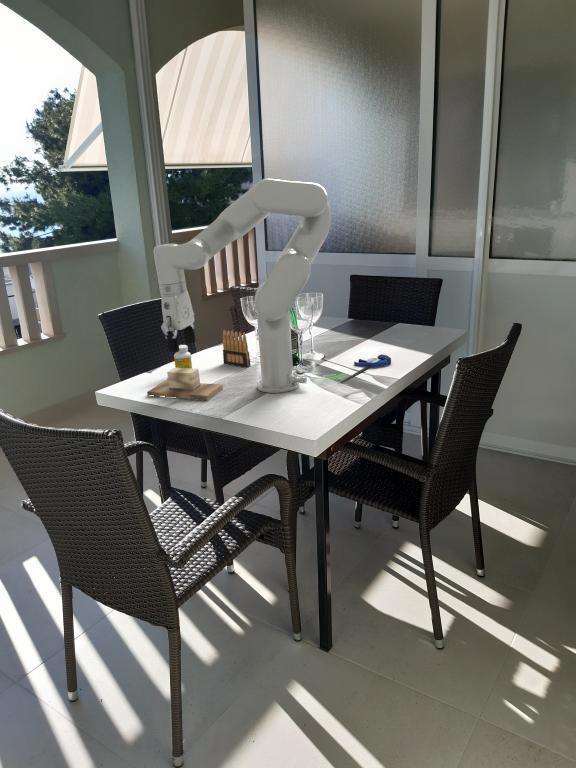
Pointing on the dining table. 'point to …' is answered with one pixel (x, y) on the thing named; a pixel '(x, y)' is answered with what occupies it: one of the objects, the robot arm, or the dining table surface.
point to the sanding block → (183, 379)
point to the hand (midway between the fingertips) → (182, 346)
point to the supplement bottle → (183, 357)
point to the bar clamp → (371, 364)
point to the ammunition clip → (235, 350)
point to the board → (200, 393)
